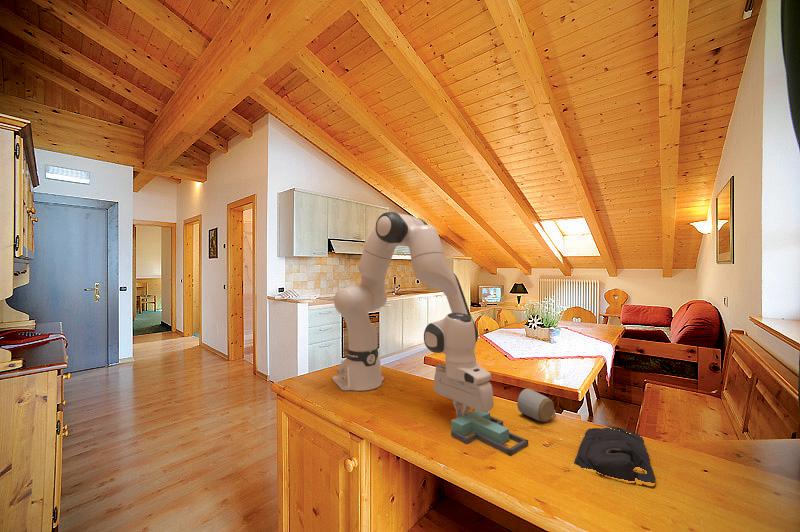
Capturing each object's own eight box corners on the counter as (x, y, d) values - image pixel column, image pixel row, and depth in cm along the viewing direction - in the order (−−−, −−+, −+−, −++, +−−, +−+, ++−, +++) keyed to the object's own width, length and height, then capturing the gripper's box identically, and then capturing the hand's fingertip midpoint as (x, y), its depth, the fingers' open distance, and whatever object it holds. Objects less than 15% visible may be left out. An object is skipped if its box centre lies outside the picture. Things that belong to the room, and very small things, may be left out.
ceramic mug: (540, 426, 96) (540, 399, 96) (516, 415, 103) (516, 390, 103) (562, 417, 101) (562, 392, 101) (539, 408, 108) (538, 384, 108)
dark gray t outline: (451, 435, 91) (450, 431, 91) (487, 418, 101) (487, 414, 101) (500, 461, 79) (500, 456, 79) (536, 439, 88) (536, 435, 88)
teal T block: (451, 431, 94) (451, 420, 94) (479, 418, 101) (479, 408, 101) (489, 450, 84) (489, 438, 84) (517, 435, 91) (517, 424, 91)
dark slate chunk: (653, 446, 85) (653, 427, 85) (656, 495, 67) (655, 471, 67) (584, 430, 94) (584, 413, 94) (571, 469, 76) (570, 448, 76)
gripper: (428, 363, 105) (429, 408, 105) (481, 380, 89) (482, 433, 89) (443, 360, 109) (444, 402, 109) (496, 375, 93) (497, 425, 93)
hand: (461, 416), depth 99 cm, fingers closed
